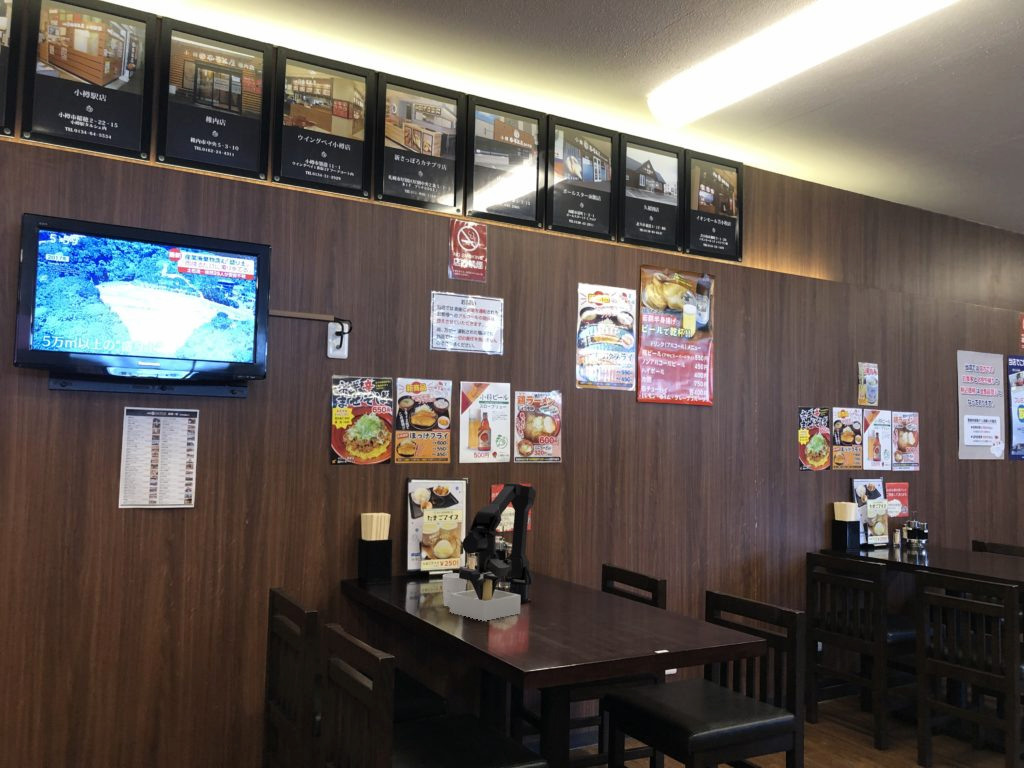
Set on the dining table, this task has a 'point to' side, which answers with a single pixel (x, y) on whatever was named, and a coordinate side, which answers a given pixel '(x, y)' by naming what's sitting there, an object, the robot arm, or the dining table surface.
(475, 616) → the socket box
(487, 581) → the peg
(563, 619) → the dining table surface
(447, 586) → the white cup
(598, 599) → the dining table surface
